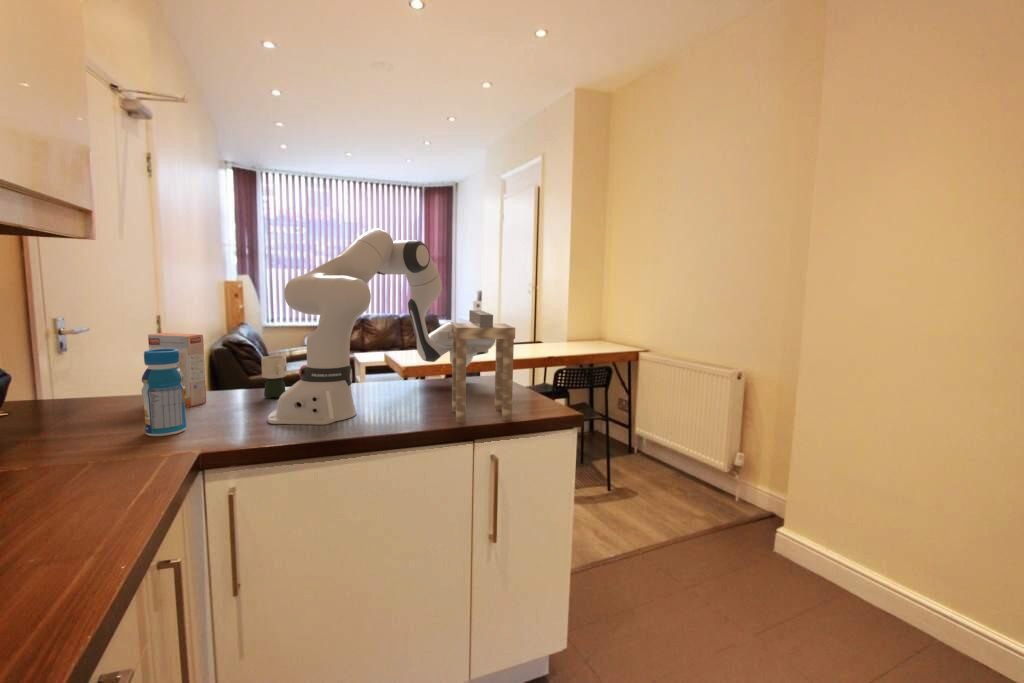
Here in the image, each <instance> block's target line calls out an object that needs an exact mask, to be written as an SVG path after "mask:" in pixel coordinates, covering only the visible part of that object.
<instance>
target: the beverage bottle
mask: <svg viewBox="0 0 1024 683" xmlns="http://www.w3.org/2000/svg"><path fill="white" fill-rule="evenodd" d="M143 362H144V365H145V366H147V367H146V369H145V371H144V373H143V374H142V377H141V382H142V383H143V386H142V388H141V395H142V398H143V399H142V400H143V412H144V424H145V425H144V432H145V434H146V435H147V436H149V437H150V436H151V437H164V436H165V437H167V436H171V435H176V434H180V433H182V432H184V431H185V430H186V429H187V421H186V407H185V398H184V392H185V385H184V384H183V379H184V375H183V373H182V371H181V370H180V369H179V368H178V367H177V366H176V364H178V363H179V352H178V350H177V349H154V350H149V349H148V350H145V351H144V352H143Z"/></svg>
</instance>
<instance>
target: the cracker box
mask: <svg viewBox="0 0 1024 683" xmlns="http://www.w3.org/2000/svg"><path fill="white" fill-rule="evenodd" d="M147 338H148V339H147V340H148V350H154V349H177V350H178V352H179V363H178V364H176V366H177V367H178V368H179V369H180V370H181V371H182V373H183V375H184V379H183V384H184V385H185V392H184V398H185V408H186V407H187V408H191V407H195V406H198V405H199V406H200V405H203V404H206V403H207V390H206V388H207V387H206V368H205V349H204V348H205V347H204V335H203V334H194V333H193V334H192V333H177V332H175V333H174V332H172V333H171V332H160V333H150V334H148V335H147Z"/></svg>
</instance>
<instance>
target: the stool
mask: <svg viewBox="0 0 1024 683" xmlns="http://www.w3.org/2000/svg"><path fill="white" fill-rule="evenodd" d="M452 334H453V354H452V364H451V366H452V367H451V370H452V371H451V384H452V385H451V386H452V387H451V411H452V413H455V422H456V424H457V423H458V424H459V423H466V402H467V385H466V384H467V367H466V339H496V340H495V368H494V369H495V371H494V372H495V373H494V374H495V375H494V409H496V410H495V411H501V420H502V421H504V422H505V421H506V420H512V421H513V390H514V389H513V388H514V387H513V386H514V385H513V384H514V383H513V382H514V381H513V379H514V375H513V374H514V348H515V346H514V345H515V343H514V342H515V339H516V327H515V326H512V325H509V324H507V323H493V328H480V327H478V326H476V325H475V324H473V323H471V322H469V323H468V322H467V323H466V322H463V323H462V322H461V323H459V322H458V323H457V322H456V323H455V322H453V323H452Z"/></svg>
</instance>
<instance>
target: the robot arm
mask: <svg viewBox="0 0 1024 683" xmlns="http://www.w3.org/2000/svg"><path fill="white" fill-rule="evenodd" d="M430 255H431V254H430V251H429V248H428V247H427V245H426V244H425V243H424V242H423V241H421V240H419V239H407V240H406V239H402V240H400V239H399V240H396V239H395V240H393V238H392V236H391V235H390V234H389V233H388V232H387V231H386V230H384V229H381V228H378V227H377V228H376V227H375V228H372V229H369V230H367V231H366V232H364V233H362V234H360V235H359V236H357V238H355V239H354V240H353V241H352V242H351V243H350V244H349V245H348V246H346V247H345V248H344V249H343V250H342V251H341V252H340V253H339V254H338V255H336V256H335V257H333V258H332V259H330V260H329V261H326V262H325V263H323V264H321V265H320V266H317V267H316V268H314V269H313V270H311V271H308V272H307V273H304V274H302V275H299V276H296V277H292V278H291V279H290V280H289V281H288V282H287V283H286V284H285V288H284V299H285V300H284V301H285V302H286V304H287V305H288V306H289V308H290V309H292V310H294V311H296V312H298V313H302V314H306V315H315V316H319V317H320V318H319V322H318V325H317V327H316V328H315V330H314V331H312V332H311V333H309V335H308V336H307V338H306V343H305V344H306V364H303V365H302V366H300V367H299V370H298V376H299V378H298V379H299V380H298V381H296V382H295V383H294V384H292V385H291V386H290V387H288V388H287V389H285V390H286V391H285V392H284V393H283V394H282V395H281V396H280V397H278V400H277V405H276V406H277V407H276V409H275V410H273V411H272V412H270V413H269V414H268V415H267V422H268V423H269V424H270V425H271V424H273V425H274V424H275V425H277V424H279V425H280V424H282V425H321V426H322V425H329V424H332V423H334V422H339V421H343V420H347V419H350V418H352V417H355V416H356V415H357V409H356V408H355V407H356V406H355V402H354V399H353V398H354V397H353V392H352V382H353V369H352V365H351V364H350V363H351V362H350V361H351V360H350V359H351V358H350V356H351V353H350V350H351V335H352V331H353V330H354V326H355V324H356V322H357V321H358V319H359V318H360V316H361V315H363V314H364V313H365V312H366V311H367V310H368V308H369V307H370V303H371V299H372V295H371V294H372V293H371V290H370V287H369V285H368V283H369V282H370V281H371V280H372V279H373V278H374V276H375V275H377V274H378V275H382V276H383V275H398V276H399V275H400V276H401V275H405V277H406V280H407V282H408V285H409V288H410V297H409V300H408V302H407V309H408V313H409V317H410V322H411V326H412V329H413V334H414V338H415V345H416V346H415V347H416V350H417V353H418V356H419V357H420V358H421V359H422V360H423V361H424V362H429V363H435V362H436V361H438V360H439V359H440V358H442V356H444V355H445V354H447V353H449V361H450V364H451V365H452V354H453V334H452V323H454V322H452V321H446V322H445V323H444V324H442V325H441V326H439V327H438V328H436V329H435V330H433V331H431V332H429V333H428V328H427V324H426V316H427V313H428V311H429V310H430V308H431V307H432V305H433V304H434V303H435V302H436V301H437V300H438V298H439V297H440V295H441V293H442V291H443V283H442V278H441V276H440V273H439V271H438V268H437V267H436V264H435V262H434V261H433V259H432V257H431V256H430ZM495 344H496V339H466V368H467V367H468V366H470V364H471V362H472V361H473V358H474V357H475V356H479V355H484V354H488V353H489V350H490V349H492V348H493V346H494V345H495Z"/></svg>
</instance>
